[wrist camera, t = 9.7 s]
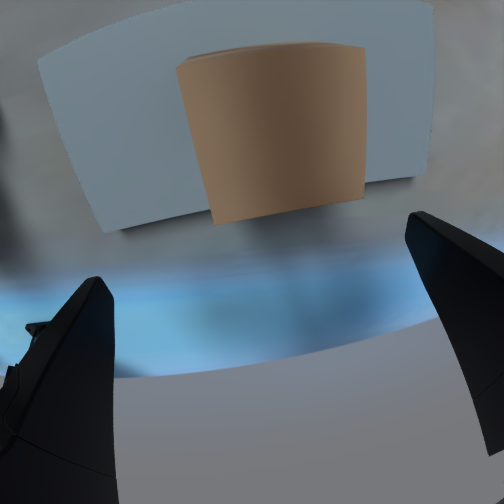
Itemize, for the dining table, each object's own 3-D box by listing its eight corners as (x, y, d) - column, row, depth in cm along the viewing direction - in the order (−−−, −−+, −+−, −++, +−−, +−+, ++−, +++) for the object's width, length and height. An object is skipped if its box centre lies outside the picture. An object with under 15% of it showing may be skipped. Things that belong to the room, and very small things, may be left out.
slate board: (110, 216, 19) (103, 233, 18) (52, 55, 12) (36, 59, 10) (410, 162, 19) (425, 175, 18) (413, 3, 12) (432, 4, 10)
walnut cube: (212, 162, 16) (214, 225, 11) (188, 57, 12) (175, 68, 8) (318, 144, 16) (363, 198, 11) (309, 40, 12) (364, 47, 8)
